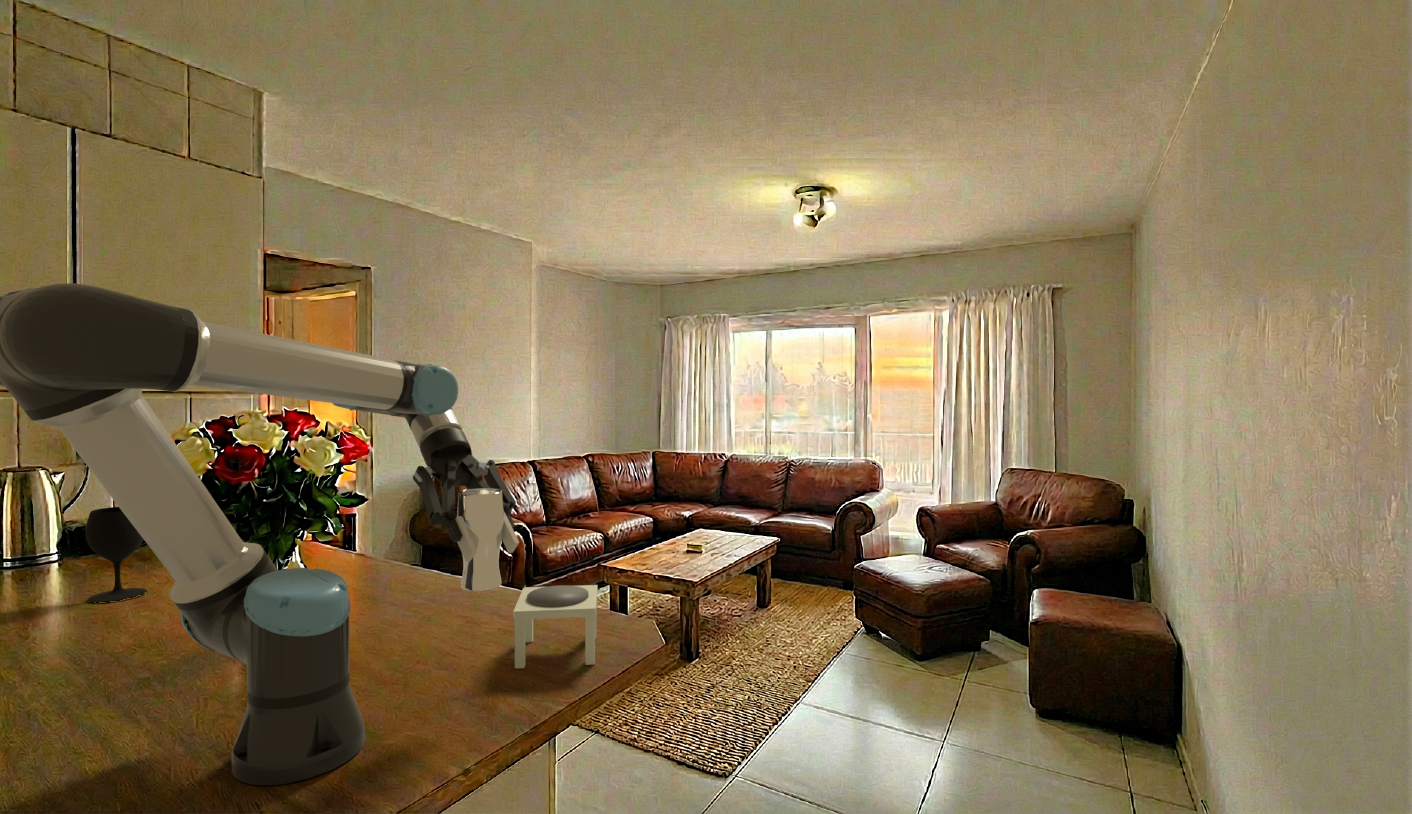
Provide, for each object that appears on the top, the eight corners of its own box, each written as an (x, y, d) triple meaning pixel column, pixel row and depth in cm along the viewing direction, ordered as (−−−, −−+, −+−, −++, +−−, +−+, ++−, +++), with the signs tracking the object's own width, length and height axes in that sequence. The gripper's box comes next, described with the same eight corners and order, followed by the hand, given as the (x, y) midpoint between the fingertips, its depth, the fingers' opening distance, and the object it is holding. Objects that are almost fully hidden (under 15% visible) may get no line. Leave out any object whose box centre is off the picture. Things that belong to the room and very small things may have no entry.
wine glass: (155, 594, 157) (153, 508, 157) (97, 606, 149) (94, 515, 148) (137, 587, 163) (135, 503, 162) (80, 598, 154) (78, 510, 154)
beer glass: (490, 593, 104) (489, 495, 103) (448, 590, 105) (447, 493, 105) (512, 580, 111) (511, 488, 110) (473, 577, 112) (472, 487, 111)
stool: (513, 668, 117) (513, 608, 117) (523, 638, 131) (523, 584, 131) (595, 664, 119) (595, 604, 119) (597, 635, 133) (597, 581, 133)
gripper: (485, 450, 125) (537, 554, 114) (376, 459, 110) (423, 578, 100) (501, 423, 121) (556, 527, 111) (389, 428, 106) (440, 549, 96)
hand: (493, 551), depth 105 cm, fingers closed on beer glass, 7 cm apart
